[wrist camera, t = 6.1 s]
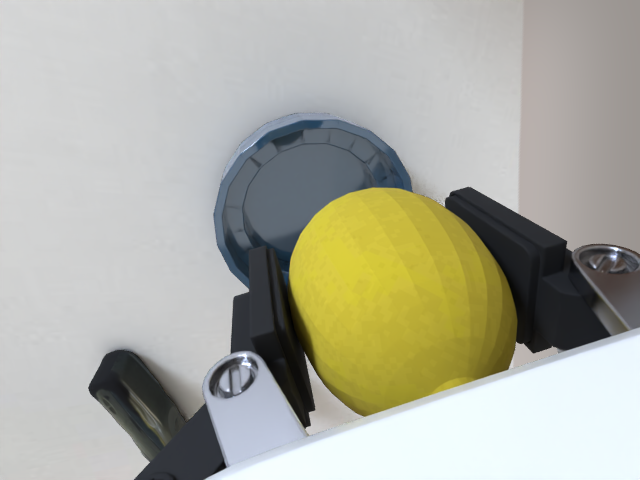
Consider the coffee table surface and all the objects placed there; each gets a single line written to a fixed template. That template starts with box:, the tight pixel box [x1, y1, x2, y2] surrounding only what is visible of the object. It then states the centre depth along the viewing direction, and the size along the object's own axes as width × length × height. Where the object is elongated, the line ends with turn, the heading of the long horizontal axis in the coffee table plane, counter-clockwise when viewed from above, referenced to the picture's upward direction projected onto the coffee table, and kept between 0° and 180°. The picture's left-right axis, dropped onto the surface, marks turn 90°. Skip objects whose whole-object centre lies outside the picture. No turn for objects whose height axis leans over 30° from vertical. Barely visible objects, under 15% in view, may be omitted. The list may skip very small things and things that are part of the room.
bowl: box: [214, 113, 413, 289], centre depth 28 cm, size 15×15×4 cm
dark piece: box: [88, 350, 186, 462], centre depth 34 cm, size 5×3×15 cm
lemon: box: [287, 188, 517, 417], centre depth 10 cm, size 6×6×8 cm
